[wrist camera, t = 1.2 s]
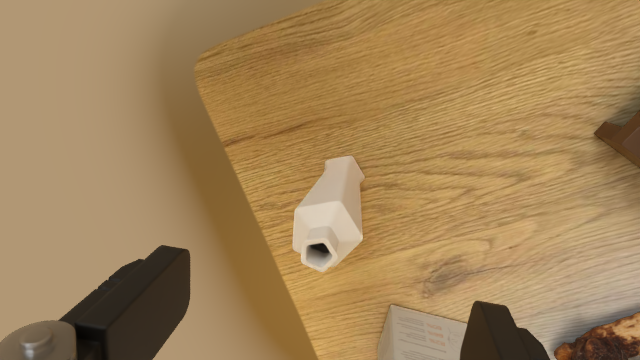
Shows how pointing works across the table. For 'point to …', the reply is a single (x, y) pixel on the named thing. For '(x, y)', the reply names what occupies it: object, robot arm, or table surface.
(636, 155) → the shelf
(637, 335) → the lashed bone hook
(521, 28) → the table surface
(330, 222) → the cream faceted vase
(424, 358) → the small box
